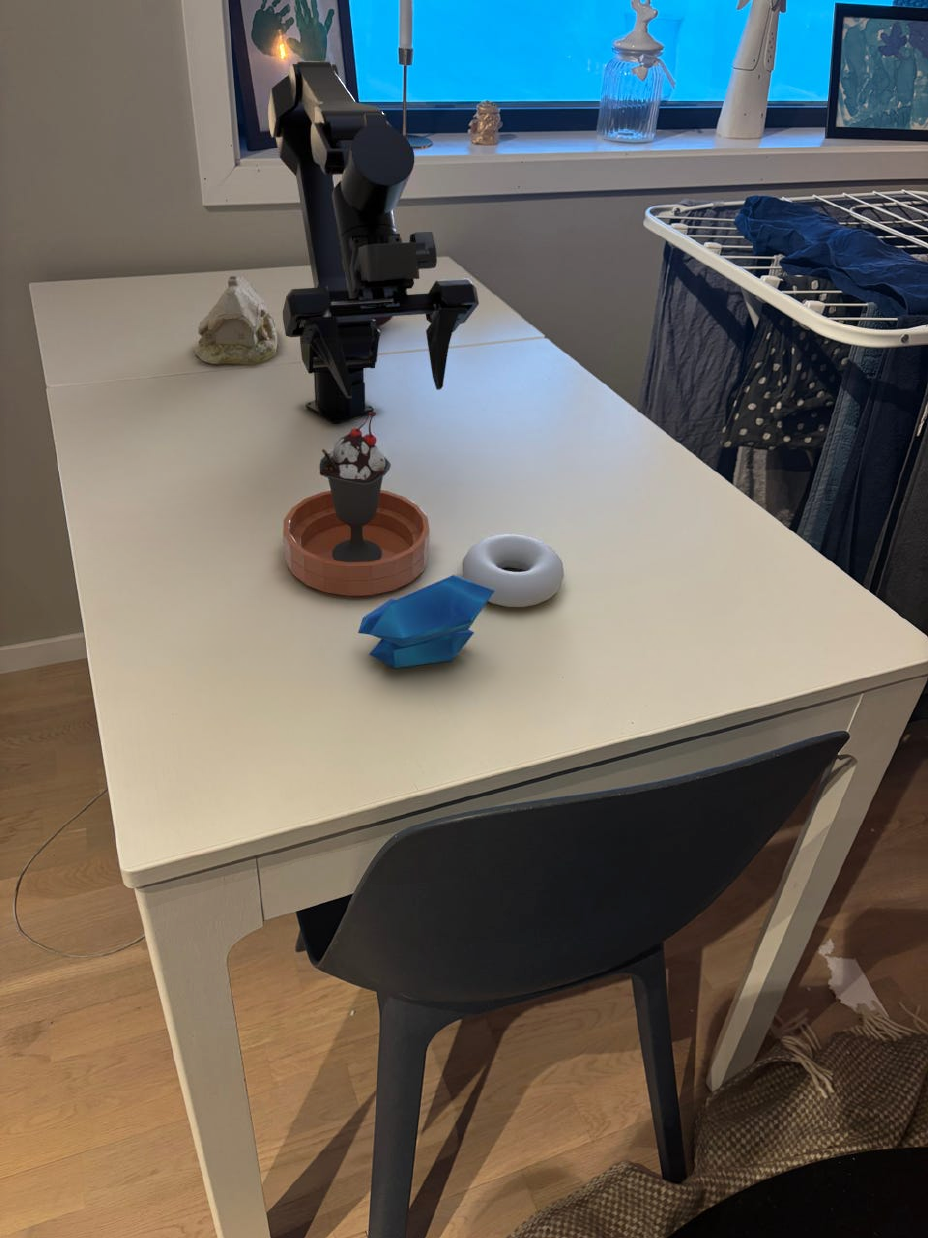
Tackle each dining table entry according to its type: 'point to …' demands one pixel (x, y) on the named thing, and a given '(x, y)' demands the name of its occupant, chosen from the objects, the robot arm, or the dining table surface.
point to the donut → (519, 553)
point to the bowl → (320, 531)
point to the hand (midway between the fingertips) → (395, 392)
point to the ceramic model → (237, 328)
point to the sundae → (355, 490)
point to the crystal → (426, 623)
